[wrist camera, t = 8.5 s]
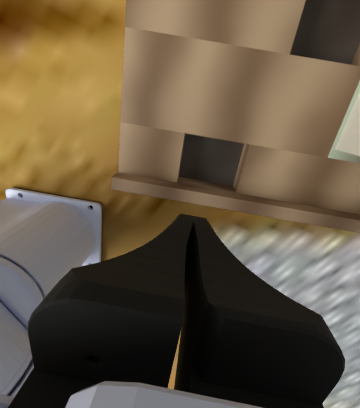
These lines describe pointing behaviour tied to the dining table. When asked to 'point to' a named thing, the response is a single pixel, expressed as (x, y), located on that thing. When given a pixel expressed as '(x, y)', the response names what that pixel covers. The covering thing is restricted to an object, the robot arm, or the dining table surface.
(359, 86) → the tray
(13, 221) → the robot arm
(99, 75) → the dining table surface
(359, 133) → the block
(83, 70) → the dining table surface
